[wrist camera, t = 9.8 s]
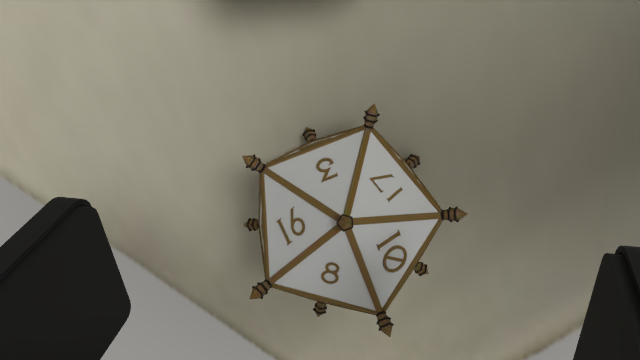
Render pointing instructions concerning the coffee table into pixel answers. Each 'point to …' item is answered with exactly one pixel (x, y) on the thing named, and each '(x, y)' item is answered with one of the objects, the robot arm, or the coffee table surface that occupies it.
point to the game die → (344, 221)
